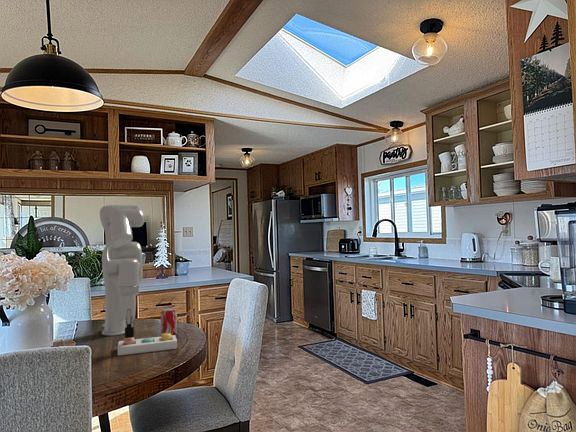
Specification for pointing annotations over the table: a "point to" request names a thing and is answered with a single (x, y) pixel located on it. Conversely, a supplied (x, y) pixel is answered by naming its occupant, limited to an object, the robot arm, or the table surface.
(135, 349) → the button box
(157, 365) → the table surface
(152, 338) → the teal button
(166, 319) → the soda can
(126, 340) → the terracotta button
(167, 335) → the amber button
